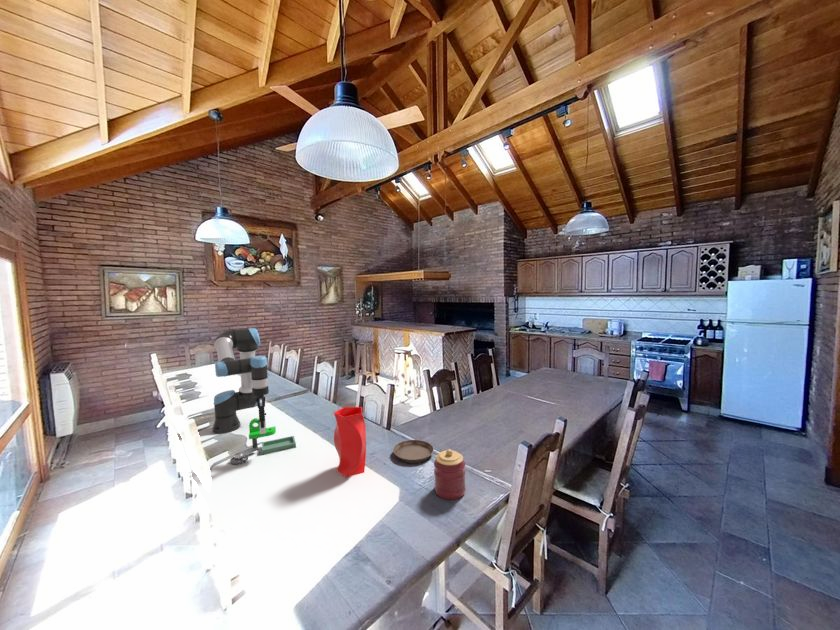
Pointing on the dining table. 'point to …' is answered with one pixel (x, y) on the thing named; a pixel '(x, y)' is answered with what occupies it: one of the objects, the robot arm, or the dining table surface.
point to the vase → (350, 440)
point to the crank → (248, 451)
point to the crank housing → (240, 461)
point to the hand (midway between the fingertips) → (262, 430)
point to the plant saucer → (413, 450)
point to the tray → (278, 445)
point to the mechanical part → (256, 430)
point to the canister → (449, 474)
